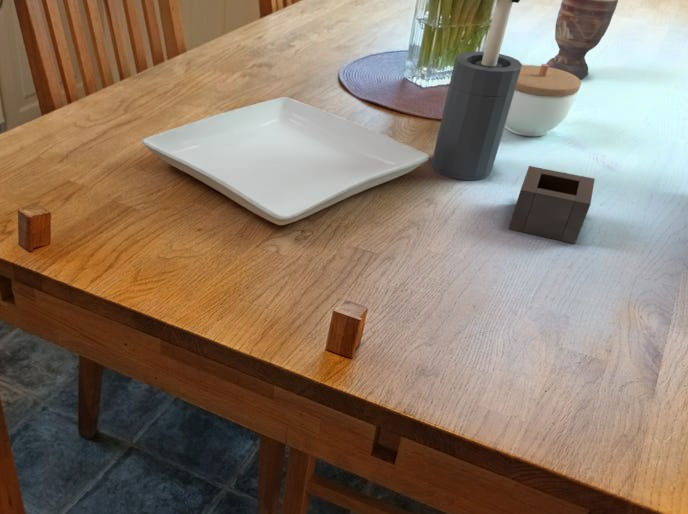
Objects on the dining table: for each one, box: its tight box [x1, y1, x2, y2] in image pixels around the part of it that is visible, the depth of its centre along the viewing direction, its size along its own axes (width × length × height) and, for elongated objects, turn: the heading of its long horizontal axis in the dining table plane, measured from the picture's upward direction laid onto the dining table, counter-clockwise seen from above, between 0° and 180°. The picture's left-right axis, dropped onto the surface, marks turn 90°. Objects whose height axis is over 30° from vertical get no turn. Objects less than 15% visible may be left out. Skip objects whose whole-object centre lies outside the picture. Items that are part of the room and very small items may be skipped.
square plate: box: [141, 96, 430, 226], centre depth 94 cm, size 27×27×4 cm
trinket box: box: [504, 63, 582, 138], centre depth 106 cm, size 11×11×9 cm
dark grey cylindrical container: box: [431, 51, 523, 181], centre depth 93 cm, size 8×8×14 cm
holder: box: [507, 165, 596, 245], centre depth 84 cm, size 7×7×5 cm
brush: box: [475, 0, 514, 68], centre depth 86 cm, size 3×3×22 cm
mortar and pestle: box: [545, 0, 619, 80], centre depth 124 cm, size 12×9×20 cm
